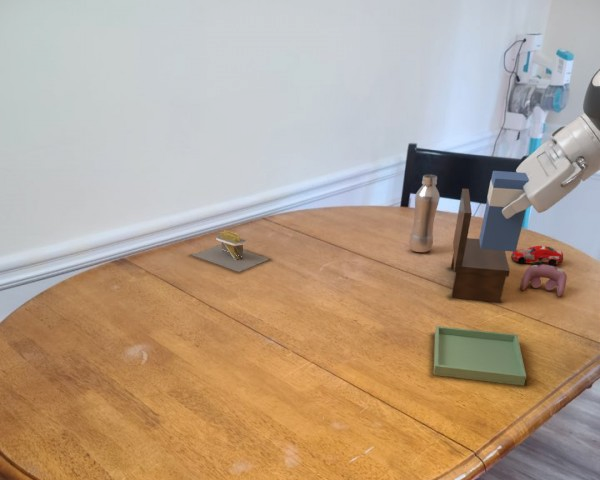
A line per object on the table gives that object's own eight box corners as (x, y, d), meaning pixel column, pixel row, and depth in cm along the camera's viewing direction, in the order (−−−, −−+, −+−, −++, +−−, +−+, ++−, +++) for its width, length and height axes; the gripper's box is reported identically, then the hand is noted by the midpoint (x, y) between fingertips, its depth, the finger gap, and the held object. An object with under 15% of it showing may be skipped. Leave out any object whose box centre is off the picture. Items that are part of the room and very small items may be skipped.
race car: (511, 263, 151) (514, 249, 149) (508, 256, 155) (512, 242, 153) (563, 267, 149) (567, 252, 147) (559, 259, 154) (563, 245, 151)
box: (512, 241, 104) (529, 172, 97) (515, 252, 99) (533, 181, 92) (478, 238, 105) (492, 170, 98) (480, 248, 100) (494, 178, 93)
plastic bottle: (402, 250, 158) (412, 175, 147) (418, 245, 162) (428, 172, 150) (420, 256, 154) (431, 180, 143) (436, 251, 158) (448, 176, 146)
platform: (238, 272, 144) (237, 247, 140) (191, 254, 154) (189, 231, 150) (270, 259, 152) (269, 235, 148) (223, 243, 161) (221, 220, 157)
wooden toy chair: (495, 270, 147) (513, 191, 135) (502, 303, 131) (522, 216, 119) (448, 266, 149) (462, 188, 137) (449, 298, 133) (464, 212, 121)
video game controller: (561, 298, 137) (569, 269, 136) (562, 297, 133) (571, 267, 132) (519, 290, 140) (526, 262, 139) (519, 289, 136) (526, 260, 135)
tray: (515, 343, 116) (517, 334, 114) (523, 385, 103) (526, 376, 101) (434, 334, 118) (436, 325, 117) (433, 375, 105) (435, 365, 104)
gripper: (602, 183, 84) (518, 242, 91) (576, 154, 100) (507, 206, 107) (579, 149, 82) (495, 212, 89) (557, 125, 98) (487, 180, 105)
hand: (501, 208), depth 98 cm, fingers closed on box, 5 cm apart
